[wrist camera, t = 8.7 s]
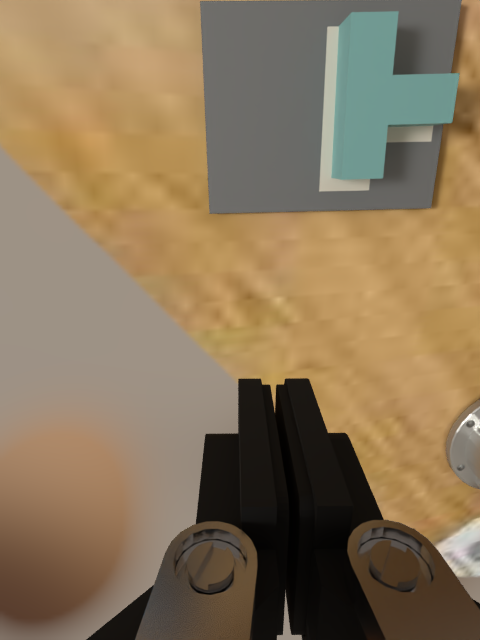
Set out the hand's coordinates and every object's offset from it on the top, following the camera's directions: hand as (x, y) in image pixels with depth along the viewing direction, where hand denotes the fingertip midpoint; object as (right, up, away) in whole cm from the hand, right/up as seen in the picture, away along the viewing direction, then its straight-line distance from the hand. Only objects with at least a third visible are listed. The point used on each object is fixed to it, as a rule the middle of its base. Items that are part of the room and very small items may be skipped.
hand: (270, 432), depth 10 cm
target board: (+6, +18, +22) cm, 29 cm away
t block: (+10, +19, +21) cm, 30 cm away
